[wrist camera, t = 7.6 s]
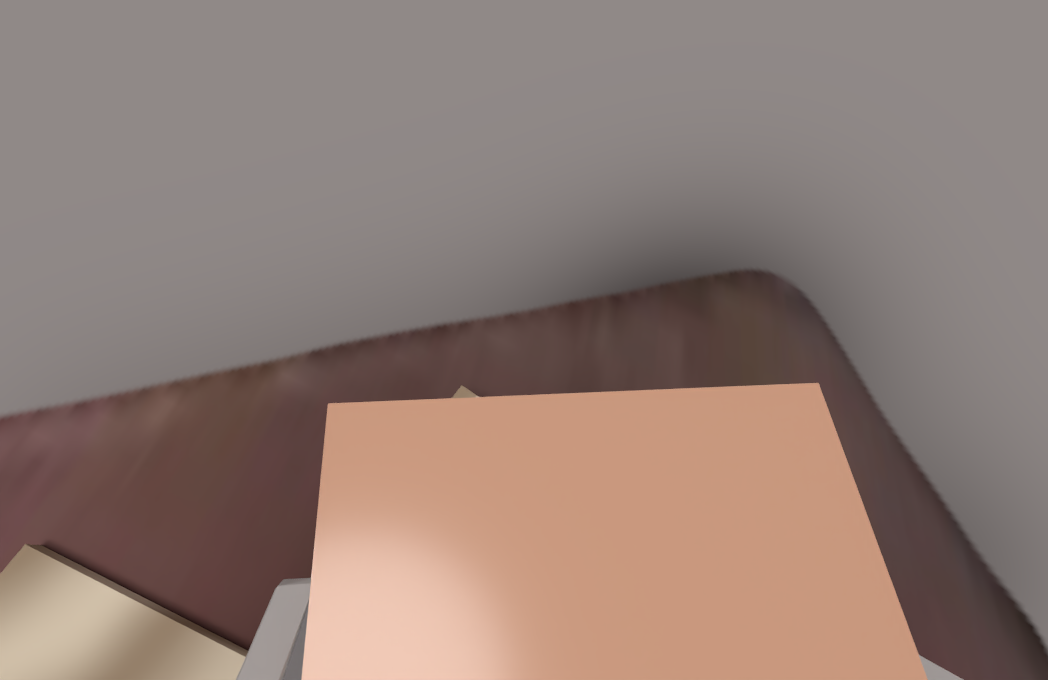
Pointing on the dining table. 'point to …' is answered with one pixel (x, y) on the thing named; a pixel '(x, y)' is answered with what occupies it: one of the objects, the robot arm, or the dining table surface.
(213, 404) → the dining table surface
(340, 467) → the terracotta brick
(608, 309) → the dining table surface
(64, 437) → the dining table surface
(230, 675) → the lid with scoop
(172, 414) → the dining table surface
